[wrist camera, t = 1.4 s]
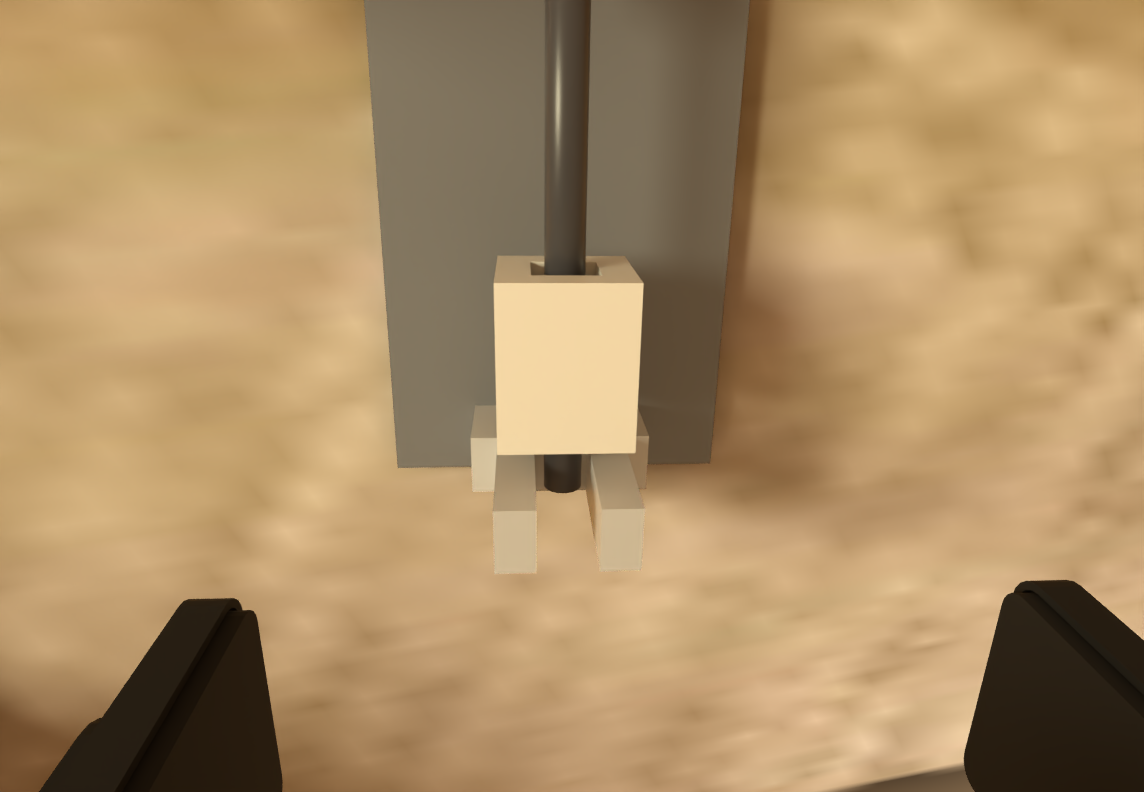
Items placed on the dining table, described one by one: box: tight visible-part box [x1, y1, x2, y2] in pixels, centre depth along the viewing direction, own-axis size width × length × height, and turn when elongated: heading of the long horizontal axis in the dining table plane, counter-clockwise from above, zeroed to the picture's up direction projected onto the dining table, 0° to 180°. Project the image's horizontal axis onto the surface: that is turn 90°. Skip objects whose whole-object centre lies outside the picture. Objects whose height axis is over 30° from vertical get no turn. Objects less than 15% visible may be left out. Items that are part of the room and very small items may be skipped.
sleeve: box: [494, 256, 644, 455], centre depth 23 cm, size 5×4×4 cm
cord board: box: [364, 0, 750, 574], centre depth 22 cm, size 24×12×9 cm, turn 179°
